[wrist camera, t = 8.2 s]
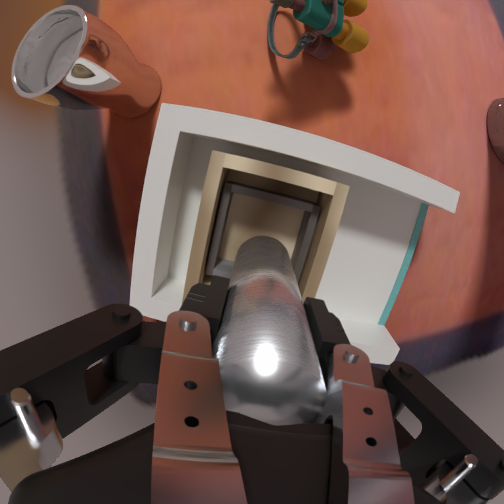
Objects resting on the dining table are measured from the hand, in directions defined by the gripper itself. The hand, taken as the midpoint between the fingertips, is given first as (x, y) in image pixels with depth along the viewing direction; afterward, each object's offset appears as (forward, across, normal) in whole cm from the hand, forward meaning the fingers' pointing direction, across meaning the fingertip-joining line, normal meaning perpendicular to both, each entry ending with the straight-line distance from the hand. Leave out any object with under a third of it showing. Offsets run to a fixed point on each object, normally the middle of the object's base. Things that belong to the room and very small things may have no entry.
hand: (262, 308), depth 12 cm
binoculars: (+17, 0, -21) cm, 27 cm away
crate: (+15, 0, 0) cm, 15 cm away
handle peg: (+6, 0, 0) cm, 6 cm away
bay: (+17, -3, 0) cm, 17 cm away
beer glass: (+17, +16, -11) cm, 26 cm away
